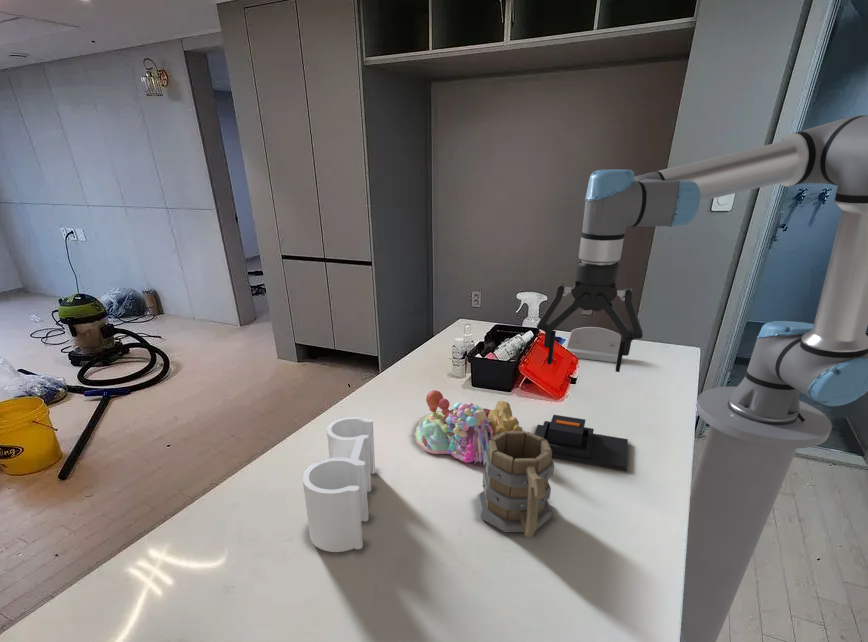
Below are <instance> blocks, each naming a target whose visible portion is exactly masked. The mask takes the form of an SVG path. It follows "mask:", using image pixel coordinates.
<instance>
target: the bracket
mask: <svg viewBox="0 0 868 642" xmlns="http://www.w3.org/2000/svg"><path fill="white" fill-rule="evenodd" d="M326 436H327V439H326V440H327V448H328V458H324V459H321V460H318V461H316V462H314V463H312V464H311V465H309V466H308V467H307V468H306V469H304V471H303V474H302V485H303V486H302V487H303V493H304V502H305V509H306V517H307V524H308V531H309V540H310V542H311V543H312V544H313V545H314V546H315V547H316V548H317V549H320V550H322V551H325V552H330V553H343V552H348V551H351V550H353V549H354V550H361V549H362V548H363V547H364V543H363V528H362V522H368V521H369V506H368V504H369V503H368V493H369V492H371V491H372V477H371V475H374V474H375V473H376V461H375V460H376V459H375V457H376V456H375V437H374V436H375V435H374V420H373V419H372V418H363V417H359V416H346V417H341V418H338V419H335V420H332V421H331V422H330V423H328V425H327V426H326Z"/></svg>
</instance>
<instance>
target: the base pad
mask: <svg viewBox="0 0 868 642" xmlns="http://www.w3.org/2000/svg"><path fill="white" fill-rule="evenodd" d="M550 424H551V421H548V420H544V422H543V424H537V426H536V428H535V431H534V434H535V435H537V436H540V437H542V438H545V439H546V440H548V433H549V428H550ZM594 430H595V429H594V428H592V427H585V426H584V431H583V437H582V442H581V448H580V449H578V448H572V447H567V446H561V445H555V444H549V446H550V448H551V450H552V458H553V459H559V460H565V461H569V462H575V463H580V464H586V465H591V466H597V467H602V468H608V469H614V470H619V471H623V472H624V471H625V472H626V471H627V468H628V445H629V444H628V443H629V442H628V441H629V439H628V438H623V437H616V436H611V435H606V434H605V435H604V434H599V433H594Z"/></svg>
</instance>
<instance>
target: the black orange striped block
mask: <svg viewBox="0 0 868 642" xmlns="http://www.w3.org/2000/svg"><path fill="white" fill-rule="evenodd" d="M550 422H551V424H550V428H549V433H548V440H547V441H548V443H549V444H555V445H561V446H567V447H572V448H578V449H580V448H581V442H582V437H583V431H584V427H585V426H586V425H585V424H586V419H585V418H579V417H572V416H565V415H559V414H553V416H552V418H551V421H550Z"/></svg>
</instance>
